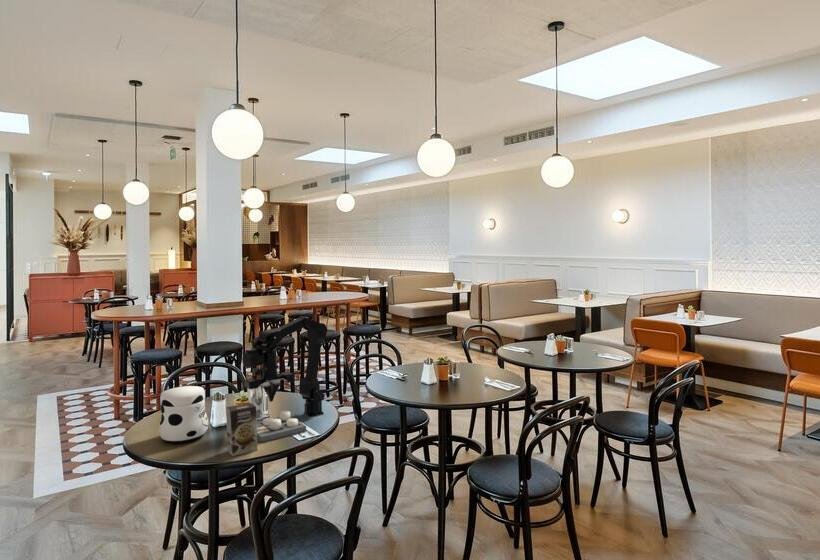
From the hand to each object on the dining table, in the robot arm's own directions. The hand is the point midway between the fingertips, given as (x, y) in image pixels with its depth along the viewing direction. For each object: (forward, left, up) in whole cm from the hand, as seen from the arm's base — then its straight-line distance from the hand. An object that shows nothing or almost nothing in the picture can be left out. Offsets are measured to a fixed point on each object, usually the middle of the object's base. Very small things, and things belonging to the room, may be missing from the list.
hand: (271, 401), depth 205 cm
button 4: (-5, +7, -10) cm, 14 cm away
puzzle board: (0, +4, -11) cm, 12 cm away
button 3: (-5, 0, -9) cm, 10 cm away
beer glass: (0, -16, -11) cm, 20 cm away
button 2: (+2, +7, -9) cm, 11 cm away
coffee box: (+17, +15, -11) cm, 25 cm away
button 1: (+2, 0, -10) cm, 10 cm away
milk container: (+30, -12, -11) cm, 34 cm away
